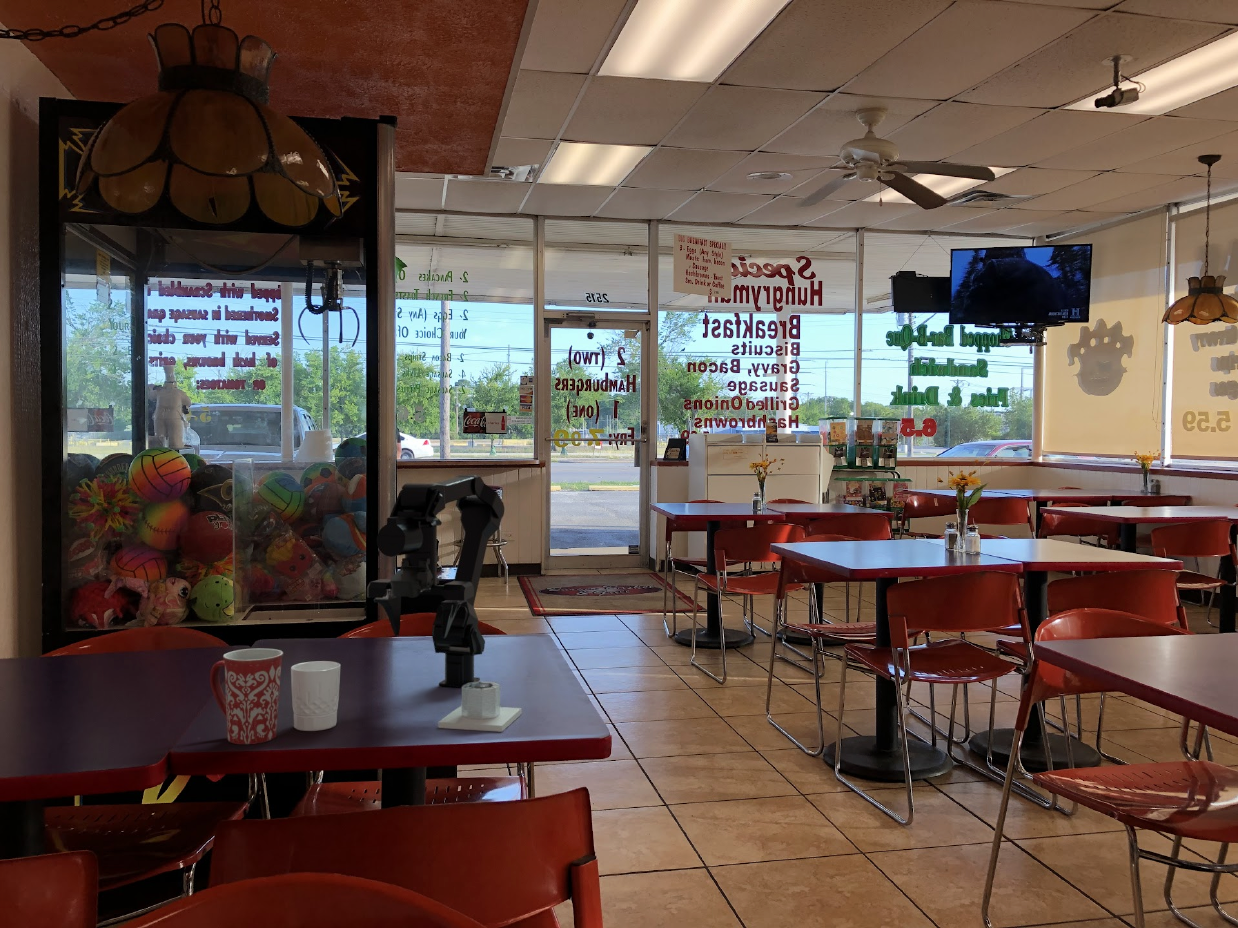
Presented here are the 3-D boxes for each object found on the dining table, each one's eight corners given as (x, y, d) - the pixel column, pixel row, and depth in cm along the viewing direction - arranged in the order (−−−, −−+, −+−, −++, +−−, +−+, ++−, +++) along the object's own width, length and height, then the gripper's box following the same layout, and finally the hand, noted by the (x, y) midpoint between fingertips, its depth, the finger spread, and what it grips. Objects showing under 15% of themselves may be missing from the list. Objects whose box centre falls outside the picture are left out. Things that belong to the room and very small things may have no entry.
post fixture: (461, 710, 167) (461, 676, 167) (521, 713, 165) (521, 679, 165) (438, 727, 156) (438, 691, 156) (502, 731, 154) (502, 695, 154)
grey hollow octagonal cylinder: (470, 709, 164) (470, 680, 164) (503, 711, 163) (503, 682, 163) (457, 718, 158) (458, 688, 158) (492, 720, 157) (492, 690, 157)
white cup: (322, 716, 163) (322, 658, 163) (349, 724, 158) (349, 665, 158) (281, 726, 157) (281, 666, 157) (307, 735, 152) (308, 673, 152)
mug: (295, 733, 153) (295, 650, 153) (253, 749, 144) (253, 661, 144) (235, 724, 158) (236, 644, 158) (192, 739, 149) (192, 654, 149)
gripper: (353, 554, 167) (352, 642, 167) (453, 557, 163) (452, 647, 163) (380, 548, 178) (380, 631, 178) (475, 551, 174) (474, 635, 174)
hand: (420, 636), depth 173 cm, fingers open, 9 cm apart
